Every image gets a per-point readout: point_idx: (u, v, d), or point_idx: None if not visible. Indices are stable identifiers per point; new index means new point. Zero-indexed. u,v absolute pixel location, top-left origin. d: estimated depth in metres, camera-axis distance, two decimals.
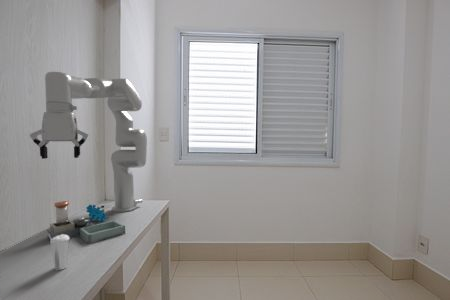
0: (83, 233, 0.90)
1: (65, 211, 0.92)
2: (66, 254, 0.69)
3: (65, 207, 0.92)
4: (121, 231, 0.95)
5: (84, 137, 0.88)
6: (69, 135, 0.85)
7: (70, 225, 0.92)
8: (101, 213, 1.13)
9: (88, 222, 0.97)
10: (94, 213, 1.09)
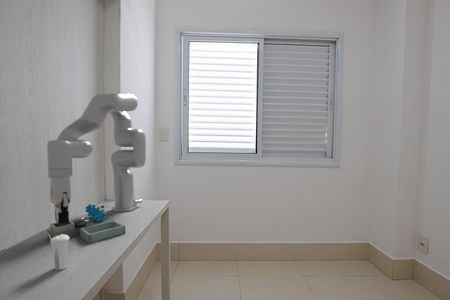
0: (83, 233, 0.90)
1: None
2: (66, 254, 0.69)
3: None
4: (121, 231, 0.95)
5: None
6: None
7: (70, 225, 0.92)
8: (100, 213, 1.13)
9: (88, 222, 0.97)
10: (93, 213, 1.09)
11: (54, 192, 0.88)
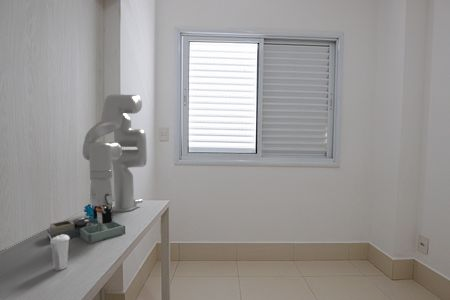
0: (83, 233, 0.90)
1: None
2: (66, 254, 0.69)
3: None
4: (121, 231, 0.95)
5: None
6: None
7: (70, 225, 0.92)
8: None
9: (88, 222, 0.97)
10: (91, 213, 1.09)
11: (96, 194, 0.90)
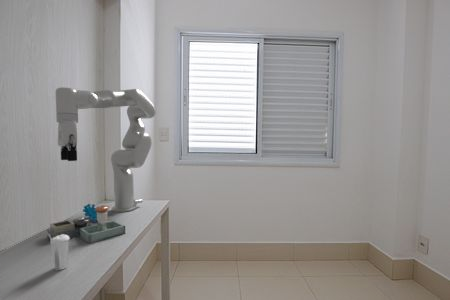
0: (83, 233, 0.90)
1: (106, 216, 0.94)
2: (66, 254, 0.69)
3: (106, 212, 0.94)
4: (121, 231, 0.95)
5: None
6: None
7: (70, 225, 0.92)
8: None
9: (88, 222, 0.97)
10: (90, 213, 1.09)
11: (62, 134, 0.97)
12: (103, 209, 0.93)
